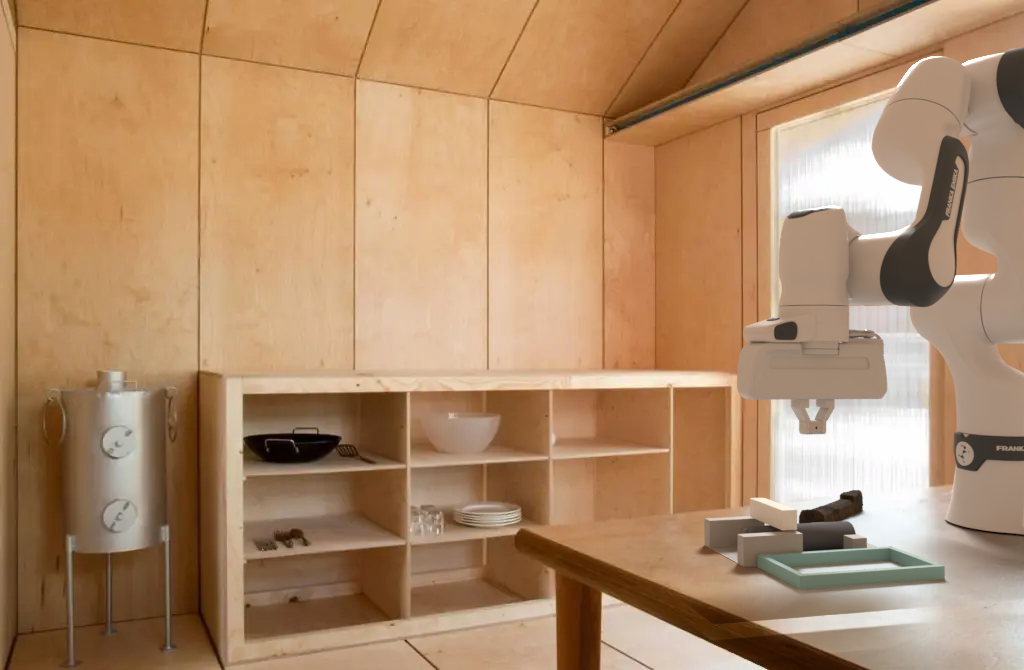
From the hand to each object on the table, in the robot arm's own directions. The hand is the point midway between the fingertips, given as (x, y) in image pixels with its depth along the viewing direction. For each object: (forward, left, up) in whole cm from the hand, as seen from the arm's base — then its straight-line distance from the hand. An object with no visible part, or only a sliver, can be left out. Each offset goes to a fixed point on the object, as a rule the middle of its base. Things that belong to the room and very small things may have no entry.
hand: (812, 434), depth 113 cm
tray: (+2, +10, -16) cm, 20 cm away
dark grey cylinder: (+2, 0, -15) cm, 15 cm away
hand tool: (-15, -18, -17) cm, 29 cm away
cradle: (+2, 0, -16) cm, 17 cm away
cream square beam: (+6, 0, -11) cm, 13 cm away
